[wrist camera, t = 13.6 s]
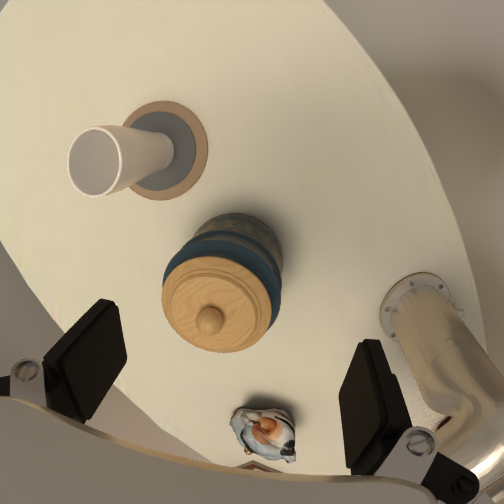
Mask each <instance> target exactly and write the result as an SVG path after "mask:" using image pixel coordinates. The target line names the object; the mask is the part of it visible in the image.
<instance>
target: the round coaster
mask: <svg viewBox="0 0 504 504" xmlns="http://www.w3.org/2000/svg"><path fill="white" fill-rule="evenodd" d="M123 126H125V127H130V128H135V129H140V130H145V131H151V132H160V133H163V134H165V135H167V136H168V137H169V138H170V139H171V141H172V143H173V145H174V157H173V159H172V161H171V163H170V164H169V166H168V167H166V168H165V169H163V170H161V171H158V172H156V173H154V174H152V175H150V176H148V177H146V178H144V179H142V180H140V181H138V182H137V183H135V184H133V185H131V186H129V187H130V189H132V190H133V191H134V192H135V193H137V194H139V195H140V196H142V197H145V198H148V199H151V200H169V199H172V198H175V197H178V196H180V195H182V194H183V193H185V192H186V191H188V190H189V189H190V188H191V187H192V186H193V185H194V184H195V183H196V182H197V180H198V179H199V178H200V176H201V174H202V172H203V170H204V168H205V165H206V161H207V155H208V143H207V137H206V133H205V130H204V128H203V126H202V124H201V122H200V121H199V119H198V118H197V117H196V116H195V115H194V114H193V113H192V112H191V111H190V110H189V109H187V108H186V107H184V106H182V105H180V104H177V103H174V102H169V101H158V102H152V103H149V104H146V105H144V106H142V107H140V108H139V109H137V110H136V111H135V112H133V113H132V114H131V115H130V116H129V117H128V119H127V120H126V121H125V123H124V124H123Z"/></svg>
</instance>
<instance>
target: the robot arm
mask: <svg viewBox="0 0 504 504" xmlns="http://www.w3.org/2000/svg"><path fill="white" fill-rule="evenodd" d="M463 316H464V310H463V309H455V308H454V307H453V306H452V304H451V303H450V293H449V290H448V288H447V286H446V285H445V283H444V282H443V281H442V280H441V279H440V278H438V277H437V276H435V275H432V274H428V273H419V274H415V275H411V276H409V277H407V278H405V279H403V280H402V281H400V282H399V283H397V284H396V285H395V286H394V287H393V288H392V289H391V290H390V292H389V293H388V294H387V296H386V297H385V299H384V301H383V303H382V306H381V310H380V323H381V326H382V328H383V331H384V332H385V334H386V335H387V336H388V337H389V338H390V339H392V340H394V341H397V342H399V343H400V345H401V347H402V350H403V352H404V354H405V356H406V359H407V361H408V363H409V366H410V368H411V371H412V373H413V375H414V378H415V380H416V383H417V385H418V388H419V390H420V393H421V395H422V398H423V400H424V402H425V403H426V404H427V406H428V407H429V408H431V409H432V410H433V411H435V412H437V413H440V414H443V415H446V416H451V417H452V418H451V420H450V421H449V422H447V423H446V424H445V425H444V426H442V427H441V428H440V429H439V430H438V431H436V432H435V433H433V432H432V431H430V430H429V429H427V428H424V427H419V426H416V427H413V426H412V423H411V419H410V416H409V413H408V410H407V407H406V404H405V401H404V398H403V395H402V392H401V389H400V386H399V383H398V380H397V377H396V375H395V374H392V373H391V370H390V367H389V364H388V361H387V359H386V356H385V353H384V350H383V348H382V345H381V342H380V340H375V339H364V340H363V342H359V343H358V345H357V348H356V351H355V353H354V356H353V359H352V361H351V364H350V366H349V369H348V371H347V374H346V376H345V379H344V381H343V384H342V386H341V389H340V391H339V405H340V413H341V421H342V430H343V439H344V449H345V459H346V467H347V468H351V475H304V474H286V473H274V472H264V471H255V470H248V469H241V468H234V467H228V466H222V465H217V464H211V463H206V462H201V461H197V460H192V459H188V458H183V457H180V456H176V455H172V454H168V453H164V452H161V451H157V450H154V449H151V448H147V447H144V446H141V445H138V444H135V443H132V442H129V441H126V440H123V439H120V438H117V437H115V436H112V435H109V434H107V433H104V432H101V431H99V430H97V429H94V428H91V427H89V426H87V425H84V424H85V422H86V420H90V419H91V418H92V416H93V414H94V413H95V411H96V409H97V408H98V406H99V405H100V403H101V401H102V400H103V398H104V397H105V395H106V394H107V392H108V390H109V389H110V387H111V386H112V384H113V383H114V381H115V379H116V378H117V376H118V375H119V373H120V372H121V370H122V369H123V367H124V365H125V364H126V361H127V353H126V348H125V343H124V338H123V332H122V326H121V321H120V314H119V309H118V306H116V305H115V303H114V302H113V301H110V300H106V299H99V300H98V301H97V302H96V303H95V304H94V305H93V306H92V307H91V308H90V309H89V310H88V311H87V312H86V313H85V314H84V315H83V316H82V317H81V318H80V319H79V320H78V321H77V322H76V323H75V324H74V325H73V326H72V327H71V328H70V329H69V330H68V331H67V332H66V333H65V334H64V335H63V337H62V338H61V339H60V340H59V341H58V342H57V343H56V344H55V345H54V346H53V347H52V348H51V349H50V350H49V352H47V354H46V355H45V356H44V357H43V358H44V361H43V362H42V363H41V362H40V361H39V360H37V359H34V358H26V359H22V360H20V361H18V362H17V363H16V364H15V365H14V366H13V367H12V369H11V375H10V376H4V377H0V504H504V475H503V476H502V477H501V478H499V479H498V480H496V481H495V482H493V483H492V484H490V485H489V486H487V487H486V488H484V489H482V488H483V487H485V486H486V485H488V484H489V483H491V482H492V481H494V480H495V479H497V478H498V477H500V476H501V475H502V474H503V473H504V377H503V376H502V375H501V373H500V372H499V371H498V369H497V368H496V367H495V365H494V364H493V363H492V361H491V360H490V359H489V357H488V356H487V354H486V353H485V351H484V350H483V348H482V347H481V346H480V345H479V343H478V342H477V340H476V339H475V338H474V336H473V335H472V333H471V332H470V331H469V329H468V328H467V327H466V325H465V324H464V322H463V321H462V320H461V319H460V317H463ZM354 475H361V476H354ZM480 489H482V490H481V491H479V490H480Z"/></svg>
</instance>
